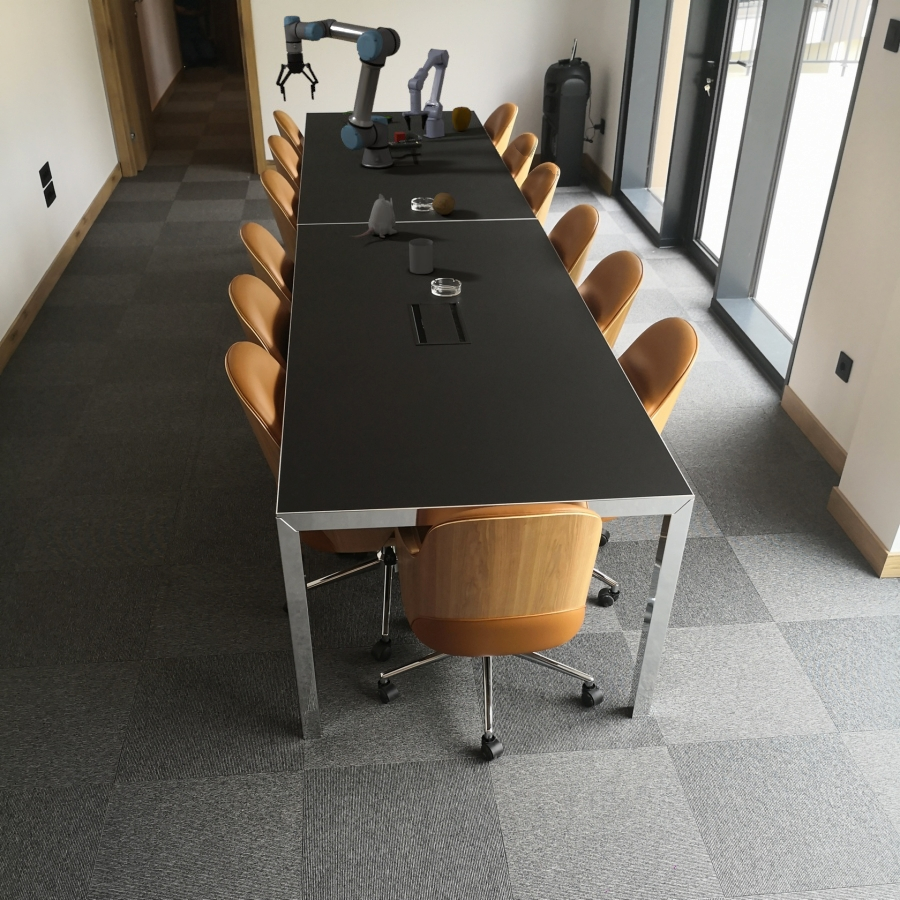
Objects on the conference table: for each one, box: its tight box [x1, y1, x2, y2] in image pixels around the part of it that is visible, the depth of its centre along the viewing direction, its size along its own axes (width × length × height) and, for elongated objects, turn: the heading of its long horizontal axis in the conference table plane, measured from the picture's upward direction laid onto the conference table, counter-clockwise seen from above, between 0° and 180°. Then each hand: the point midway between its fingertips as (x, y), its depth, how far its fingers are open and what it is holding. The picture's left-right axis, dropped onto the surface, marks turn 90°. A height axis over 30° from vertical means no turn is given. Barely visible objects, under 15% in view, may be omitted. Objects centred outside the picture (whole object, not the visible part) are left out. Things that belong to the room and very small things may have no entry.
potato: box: [431, 192, 456, 216], centre depth 360 cm, size 10×14×8 cm
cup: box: [408, 237, 434, 275], centre depth 305 cm, size 8×8×10 cm
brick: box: [393, 131, 406, 143], centre depth 467 cm, size 5×5×5 cm
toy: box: [350, 193, 398, 239], centre depth 333 cm, size 9×24×15 cm, turn 137°
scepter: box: [341, 110, 394, 125], centre depth 505 cm, size 6×13×30 cm
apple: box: [451, 105, 472, 132], centre depth 487 cm, size 11×11×13 cm
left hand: (298, 100), depth 420 cm, fingers open, 13 cm apart
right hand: (416, 129), depth 464 cm, fingers open, 7 cm apart
